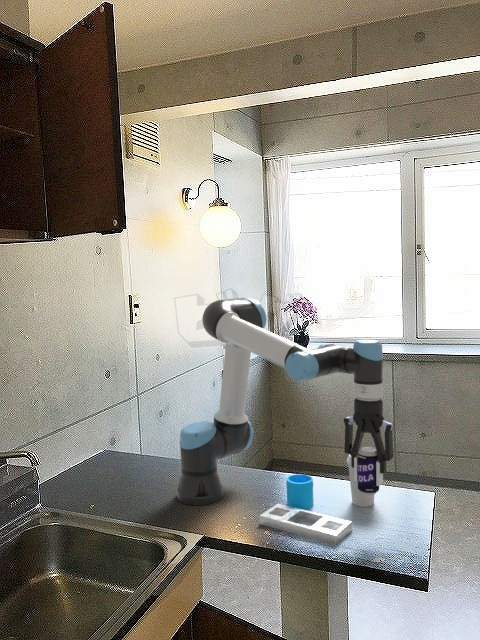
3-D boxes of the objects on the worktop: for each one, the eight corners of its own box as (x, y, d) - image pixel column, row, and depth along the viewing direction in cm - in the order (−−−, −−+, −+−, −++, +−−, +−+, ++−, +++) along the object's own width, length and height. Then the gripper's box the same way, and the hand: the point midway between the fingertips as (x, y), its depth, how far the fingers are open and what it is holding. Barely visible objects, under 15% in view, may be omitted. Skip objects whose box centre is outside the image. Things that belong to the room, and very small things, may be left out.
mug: (305, 512, 168) (304, 485, 167) (282, 506, 173) (281, 480, 172) (323, 498, 178) (323, 473, 177) (301, 493, 183) (300, 468, 182)
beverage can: (354, 488, 155) (354, 446, 154) (374, 487, 155) (374, 444, 154) (361, 496, 149) (361, 452, 148) (382, 495, 150) (382, 451, 149)
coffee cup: (360, 511, 167) (359, 462, 166) (341, 500, 175) (339, 453, 174) (385, 504, 171) (384, 456, 170) (364, 494, 180) (364, 448, 178)
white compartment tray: (259, 524, 161) (259, 515, 161) (278, 511, 169) (278, 503, 169) (336, 545, 147) (335, 535, 147) (352, 530, 155) (351, 521, 155)
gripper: (330, 396, 152) (331, 479, 154) (397, 405, 141) (397, 493, 144) (342, 391, 158) (343, 471, 160) (407, 399, 147) (407, 484, 150)
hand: (368, 481), depth 152 cm, fingers closed on beverage can, 6 cm apart
